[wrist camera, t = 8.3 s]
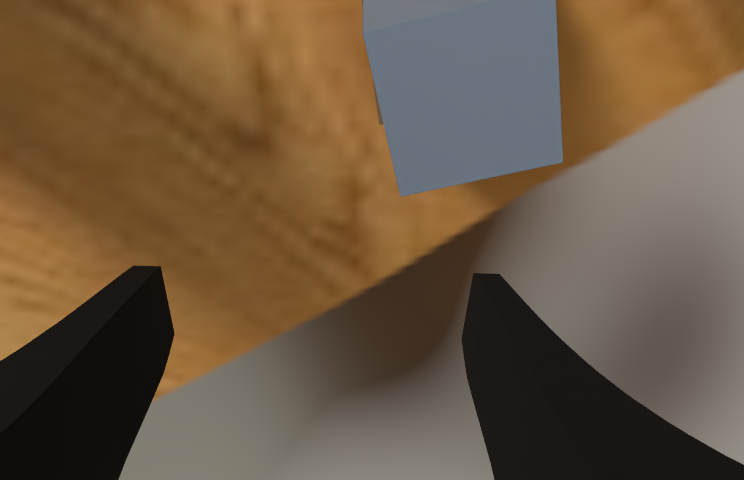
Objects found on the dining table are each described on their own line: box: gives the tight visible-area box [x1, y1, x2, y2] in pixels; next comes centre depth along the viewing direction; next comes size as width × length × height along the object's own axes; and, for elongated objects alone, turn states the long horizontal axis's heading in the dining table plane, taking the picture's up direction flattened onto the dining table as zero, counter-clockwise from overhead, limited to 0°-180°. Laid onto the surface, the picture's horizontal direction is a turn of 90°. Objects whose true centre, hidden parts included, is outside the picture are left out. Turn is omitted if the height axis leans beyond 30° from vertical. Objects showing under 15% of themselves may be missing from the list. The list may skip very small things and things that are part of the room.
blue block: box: [363, 0, 563, 197], centre depth 14 cm, size 4×4×4 cm
